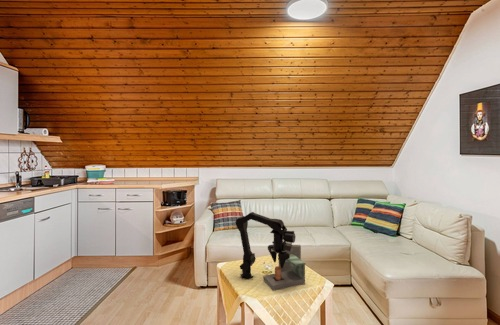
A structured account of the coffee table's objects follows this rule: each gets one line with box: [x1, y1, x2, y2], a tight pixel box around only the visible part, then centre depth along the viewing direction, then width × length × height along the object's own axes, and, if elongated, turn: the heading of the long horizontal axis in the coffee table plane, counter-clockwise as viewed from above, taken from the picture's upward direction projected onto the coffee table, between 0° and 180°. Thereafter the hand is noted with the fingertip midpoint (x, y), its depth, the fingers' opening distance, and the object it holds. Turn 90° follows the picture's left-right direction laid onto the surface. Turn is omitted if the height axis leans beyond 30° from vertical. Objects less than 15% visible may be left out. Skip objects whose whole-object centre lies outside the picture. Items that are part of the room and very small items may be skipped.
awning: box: [285, 254, 306, 280], centre depth 180 cm, size 15×7×10 cm, turn 22°
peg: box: [274, 265, 281, 281], centre depth 176 cm, size 4×4×10 cm
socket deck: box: [262, 270, 306, 292], centre depth 178 cm, size 14×22×3 cm, turn 112°
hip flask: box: [278, 242, 302, 272], centre depth 193 cm, size 16×4×20 cm, turn 105°
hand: (278, 265), depth 176 cm, fingers open, 9 cm apart
